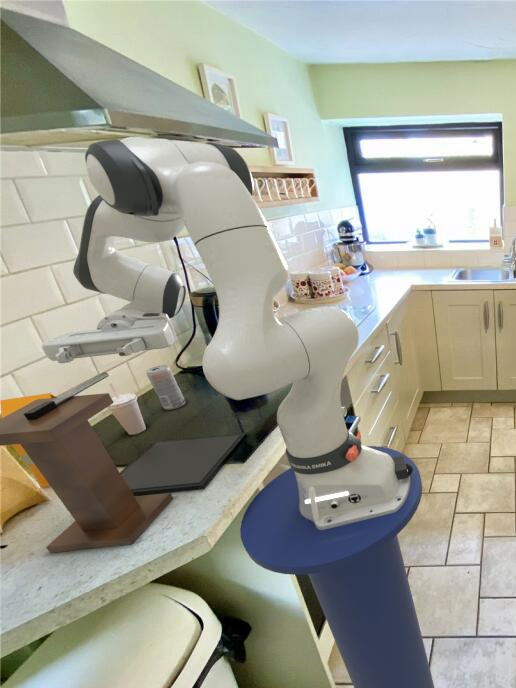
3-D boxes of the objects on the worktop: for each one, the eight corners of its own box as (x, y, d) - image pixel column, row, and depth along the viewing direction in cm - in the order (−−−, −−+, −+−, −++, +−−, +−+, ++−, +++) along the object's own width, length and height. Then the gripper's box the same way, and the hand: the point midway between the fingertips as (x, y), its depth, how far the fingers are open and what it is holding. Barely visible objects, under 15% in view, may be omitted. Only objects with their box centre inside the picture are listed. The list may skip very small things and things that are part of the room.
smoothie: (145, 422, 115) (120, 376, 109) (157, 427, 112) (132, 381, 106) (117, 434, 110) (89, 387, 104) (129, 439, 107) (101, 392, 101)
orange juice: (64, 466, 98) (13, 392, 89) (108, 458, 100) (63, 385, 91) (41, 487, 92) (-16, 409, 82) (89, 478, 94) (38, 401, 84)
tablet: (247, 436, 106) (246, 432, 106) (204, 489, 88) (202, 485, 88) (157, 444, 105) (155, 440, 104) (94, 500, 87) (91, 496, 86)
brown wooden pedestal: (173, 498, 86) (114, 392, 75) (132, 544, 76) (56, 429, 64) (102, 505, 85) (31, 399, 74) (50, 553, 75) (-42, 438, 63)
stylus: (111, 376, 82) (108, 370, 81) (36, 419, 67) (32, 412, 67) (103, 376, 81) (100, 371, 81) (27, 420, 67) (22, 413, 67)
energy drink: (179, 399, 126) (162, 363, 120) (190, 403, 124) (172, 366, 118) (160, 408, 122) (141, 371, 116) (170, 411, 120) (151, 374, 114)
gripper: (60, 323, 86) (13, 347, 75) (175, 312, 92) (148, 333, 80) (75, 351, 89) (32, 379, 77) (186, 339, 95) (161, 363, 83)
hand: (92, 355), depth 79 cm, fingers open, 8 cm apart
